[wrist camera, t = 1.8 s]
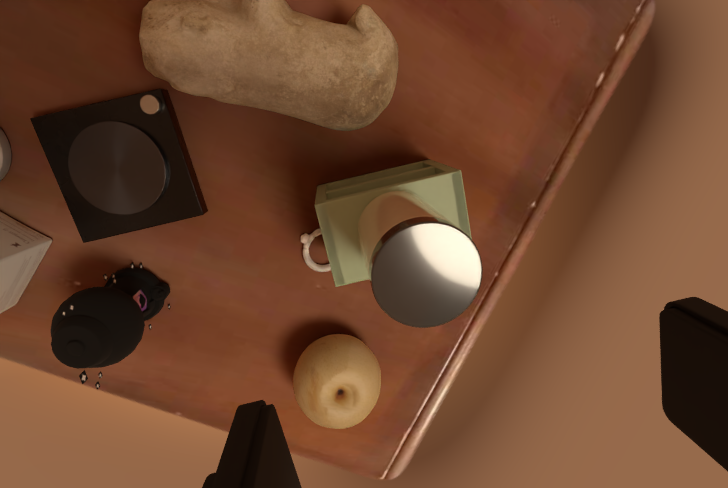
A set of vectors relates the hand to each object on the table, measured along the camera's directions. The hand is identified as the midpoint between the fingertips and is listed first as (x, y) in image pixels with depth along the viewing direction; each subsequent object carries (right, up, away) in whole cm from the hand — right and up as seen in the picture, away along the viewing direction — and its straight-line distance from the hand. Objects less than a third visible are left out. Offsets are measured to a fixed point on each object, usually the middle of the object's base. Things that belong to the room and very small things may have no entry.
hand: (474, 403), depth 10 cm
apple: (-5, -7, +32) cm, 33 cm away
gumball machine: (-23, -1, +28) cm, 36 cm away
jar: (0, +5, +19) cm, 20 cm away
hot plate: (-22, +10, +25) cm, 35 cm away
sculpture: (-9, +18, +24) cm, 32 cm away
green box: (-1, +7, +28) cm, 29 cm away
